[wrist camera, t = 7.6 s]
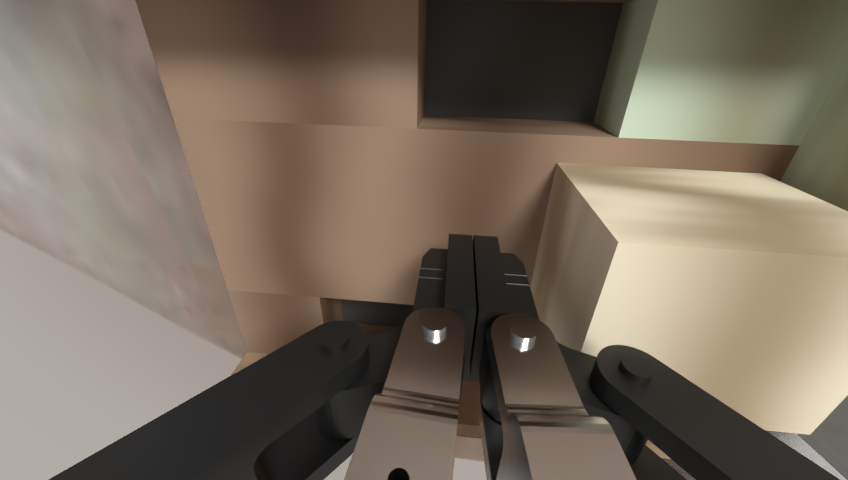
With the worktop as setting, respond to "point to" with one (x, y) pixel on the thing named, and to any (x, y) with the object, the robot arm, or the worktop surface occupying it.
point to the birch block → (703, 283)
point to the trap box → (467, 129)
